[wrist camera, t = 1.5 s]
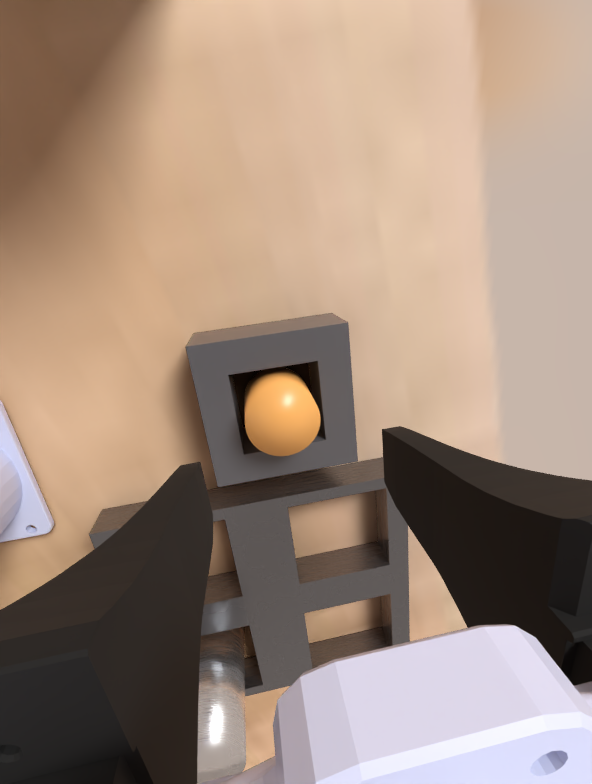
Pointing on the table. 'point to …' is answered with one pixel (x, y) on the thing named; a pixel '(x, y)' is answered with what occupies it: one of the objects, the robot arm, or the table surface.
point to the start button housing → (263, 351)
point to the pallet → (297, 571)
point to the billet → (221, 705)
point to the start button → (280, 412)
